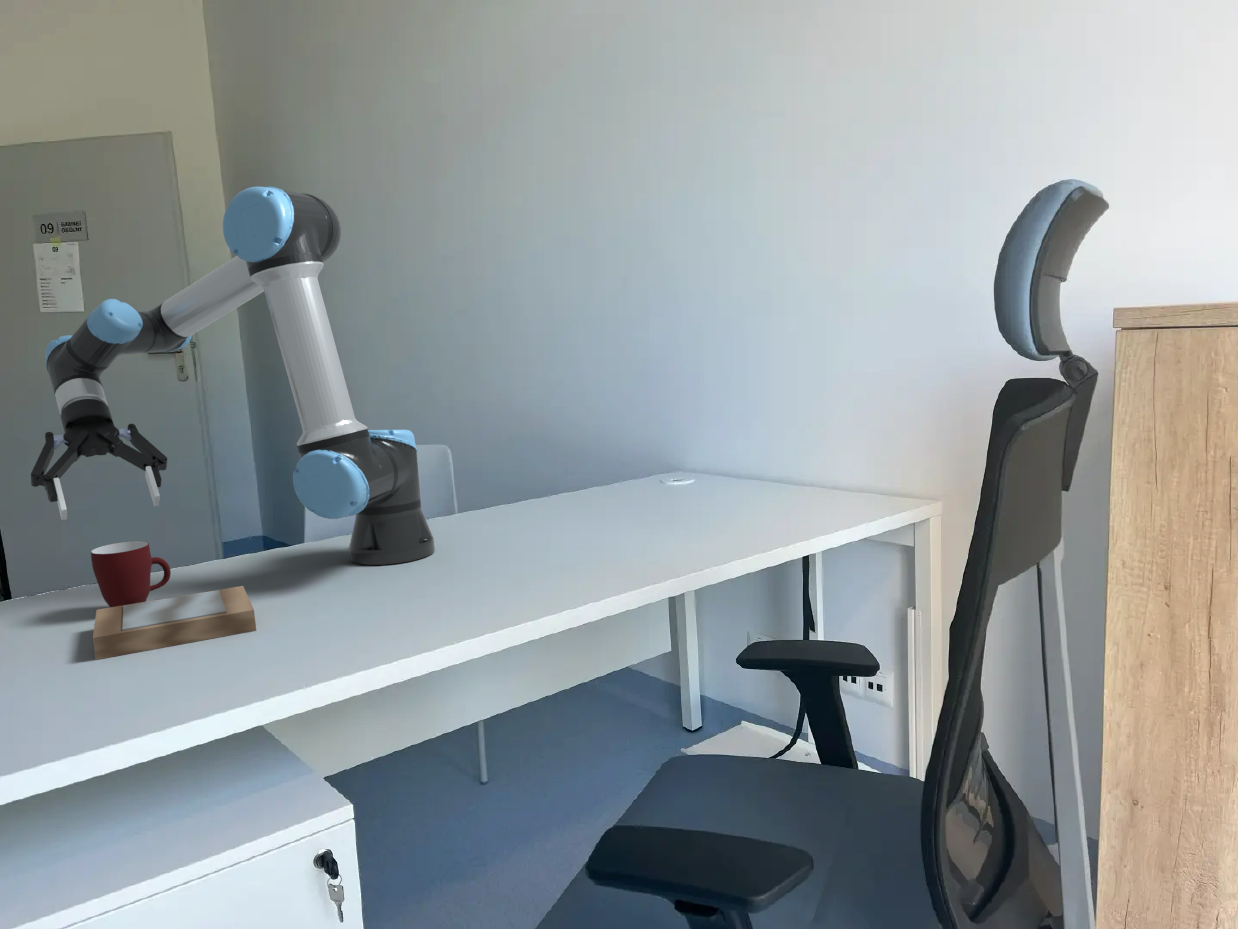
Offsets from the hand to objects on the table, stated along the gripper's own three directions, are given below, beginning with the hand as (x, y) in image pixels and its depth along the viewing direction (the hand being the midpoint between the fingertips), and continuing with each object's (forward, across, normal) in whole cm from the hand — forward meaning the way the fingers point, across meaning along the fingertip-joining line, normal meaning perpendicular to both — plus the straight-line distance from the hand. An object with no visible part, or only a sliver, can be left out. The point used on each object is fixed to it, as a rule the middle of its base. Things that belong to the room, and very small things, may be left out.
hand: (111, 508), depth 157 cm
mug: (+18, 0, -3) cm, 18 cm away
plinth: (+30, -2, +9) cm, 31 cm away
